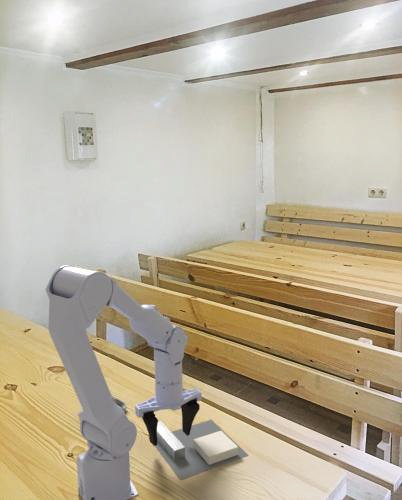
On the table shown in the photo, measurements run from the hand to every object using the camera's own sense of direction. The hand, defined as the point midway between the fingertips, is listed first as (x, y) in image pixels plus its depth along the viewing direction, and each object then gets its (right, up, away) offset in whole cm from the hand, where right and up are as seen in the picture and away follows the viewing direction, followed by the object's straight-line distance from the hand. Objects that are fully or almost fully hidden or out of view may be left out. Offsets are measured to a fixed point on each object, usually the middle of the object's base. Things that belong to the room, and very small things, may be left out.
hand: (170, 438), depth 98 cm
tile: (+8, -1, +2) cm, 8 cm away
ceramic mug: (-18, -1, +16) cm, 24 cm away
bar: (0, -1, +2) cm, 3 cm away
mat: (+6, -3, +1) cm, 7 cm away
